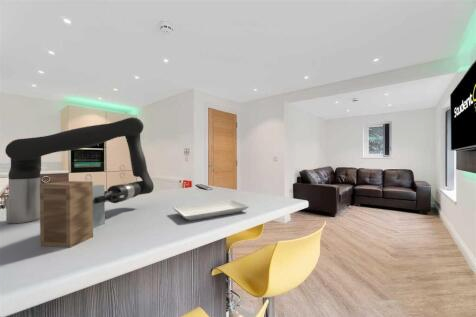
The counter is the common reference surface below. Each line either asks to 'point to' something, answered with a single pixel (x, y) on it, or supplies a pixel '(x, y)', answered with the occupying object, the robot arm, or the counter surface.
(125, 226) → the counter surface
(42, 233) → the cabinet
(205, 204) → the tray
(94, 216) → the door
